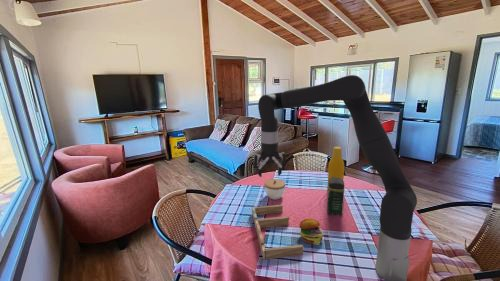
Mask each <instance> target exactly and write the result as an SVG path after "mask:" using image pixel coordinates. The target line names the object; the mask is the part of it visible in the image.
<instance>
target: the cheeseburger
mask: <svg viewBox="0 0 500 281" xmlns="http://www.w3.org/2000/svg"><path fill="white" fill-rule="evenodd" d="M299 229H300V232H299V235H300V237H301V239H302V241H303V242H305V243H308V244H312V245H315V246H318V245H320V243H321V242H322V240H323V237H324V235H325V234H324V232H323V231H322V230H323V229H321V223H320V221H319V220H316V219H315V218H311V217H307V218H304V219H302V220H301V221H300V222H299Z"/></svg>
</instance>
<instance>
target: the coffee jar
mask: <svg viewBox="0 0 500 281" xmlns="http://www.w3.org/2000/svg"><path fill="white" fill-rule="evenodd" d="M327 186H328V190H327V202H326V204H327V205H326V210H327V213H328V214H329V215H332V216H341V215H342V214H343V211H344V210H343V208H344V207H343V206H344V197H345V181H344V179H343V180H342V179H340V178H337V177H332V178H330V179H329V184H328V183H327Z"/></svg>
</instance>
